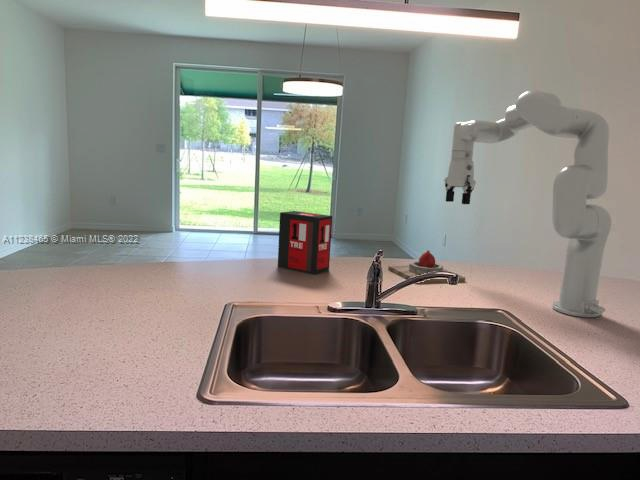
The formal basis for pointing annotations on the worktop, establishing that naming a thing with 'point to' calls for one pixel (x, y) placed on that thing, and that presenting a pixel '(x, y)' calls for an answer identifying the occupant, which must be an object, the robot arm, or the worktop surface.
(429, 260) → the onion
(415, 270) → the cradle
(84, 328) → the worktop surface
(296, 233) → the cleaning product box
